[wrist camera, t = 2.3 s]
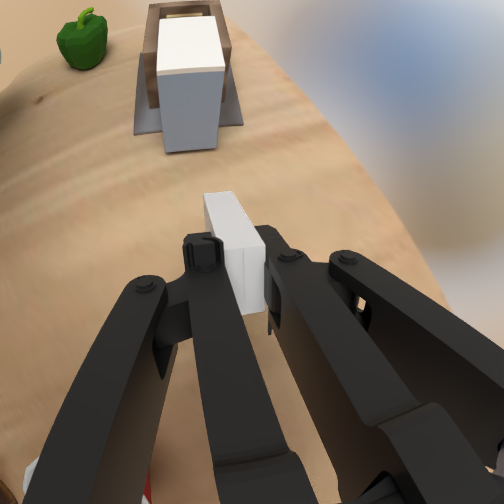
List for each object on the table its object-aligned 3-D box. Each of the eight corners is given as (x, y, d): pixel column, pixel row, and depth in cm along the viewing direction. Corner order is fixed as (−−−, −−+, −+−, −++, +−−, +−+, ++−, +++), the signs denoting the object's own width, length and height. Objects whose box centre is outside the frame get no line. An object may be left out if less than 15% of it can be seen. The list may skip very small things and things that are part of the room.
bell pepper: (69, 83, 38) (53, 35, 28) (63, 60, 39) (50, 16, 30) (118, 62, 40) (109, 13, 31) (107, 41, 42) (99, -3, 32)
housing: (133, 135, 36) (121, 77, 27) (140, 54, 41) (135, 5, 32) (243, 125, 39) (255, 67, 29) (226, 48, 44) (233, -1, 34)
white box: (165, 152, 35) (156, 71, 23) (164, 95, 38) (159, 19, 26) (216, 147, 36) (225, 66, 24) (208, 91, 39) (214, 16, 27)
